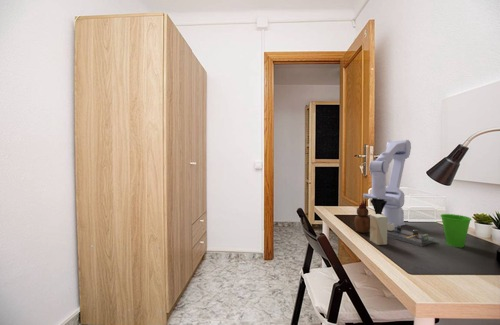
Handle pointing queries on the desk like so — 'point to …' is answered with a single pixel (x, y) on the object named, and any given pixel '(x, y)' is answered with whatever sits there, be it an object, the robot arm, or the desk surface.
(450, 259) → the desk surface
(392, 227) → the fader
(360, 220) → the wooden figurine
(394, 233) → the console
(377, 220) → the box
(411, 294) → the desk surface
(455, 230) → the cup
